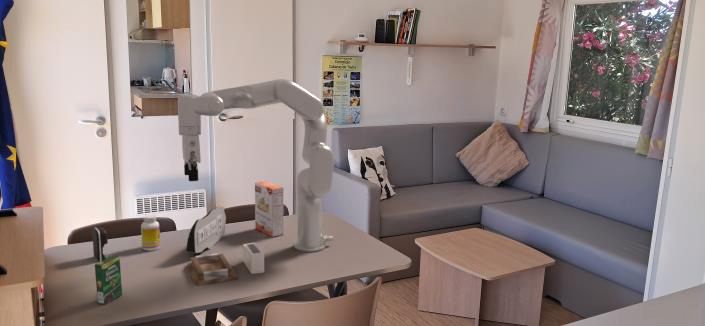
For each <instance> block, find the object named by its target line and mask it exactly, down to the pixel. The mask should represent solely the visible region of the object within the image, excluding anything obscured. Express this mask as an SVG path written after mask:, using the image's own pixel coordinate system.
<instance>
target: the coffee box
mask: <svg viewBox="0 0 705 326" xmlns="http://www.w3.org/2000/svg"><path fill="white" fill-rule="evenodd" d="M106 258H107V259H105V260H103V261H98V262H97V263H95V264H94V269H95V270H94V272H95V283H96V284H95V286H96V299H97V304H99V305H104V306H105V305H106V304H109V303H111V302H113V301H114V300H116V299H117V298H120V297H121V296H123V287H122V286H123V285H122V274H121V273H122V271H121V261H120V259H121V257H120V255H114V254H113V255H111V256H109V257H106Z"/></svg>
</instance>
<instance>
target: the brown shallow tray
mask: <svg viewBox="0 0 705 326" xmlns="http://www.w3.org/2000/svg"><path fill="white" fill-rule="evenodd" d="M186 267H187V269H188V272H189V274H190V276H191V279H192V280H193V284H194V286H199V285H207V284H213V283H219V282H220V283H221V282H227V281H234V280H238V275H237V273H236V272H235V271H234V269H233V266H231V263H229V261H228V260H227V258H226V256H225V255H224V254H223V253H207V254H200V255H195V256H192V257H190V262H188V263H187V262H186Z"/></svg>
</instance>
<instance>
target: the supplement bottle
mask: <svg viewBox="0 0 705 326" xmlns="http://www.w3.org/2000/svg"><path fill="white" fill-rule="evenodd" d="M140 232H141V235H140V236H141V249H142V250H144V251H156V250H158V249H160V248H161V235H160V233H161V231H160V223H159V222H158V221H157V215H156V214H146V215H143V222H142V223H141V225H140Z"/></svg>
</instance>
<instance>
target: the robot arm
mask: <svg viewBox="0 0 705 326" xmlns="http://www.w3.org/2000/svg"><path fill="white" fill-rule="evenodd" d="M275 104H284V105H285V106H286V107H288V108H289V109H291V110H293V111H294V112H295V113H296V115H298V116H299V117H300V118H301V119H302V120H303V123H304V137H303V146H302V150H301V151H302V152H301V156H302V160H303V161H304V163H305V164H307V165H308V166H309V167H307V168H304V169H302V170H300V171H299V172H298V174H297V176H296V191H297V192H296V193H297V240H296V241H294V242H293V248H294V249H295V250H297V251H300V252H306V253H308V252H309V253H313V252H318V251H323V250H324V249H325V248H326V242H331V241H334V237H333V235H328V234H325V235H324V234H323V233H322V232H323V230H322V229H323V228H322V227H323V198H326V196H327V195H328V194H329V193H330V191H331V188H332V182H333V176H334V168H335V156H334V152H333V150H332V148H330V147H329V146H328V145H327V135H328V133H327V132H328V124H327V123H328V122H327V118H326V116H325V113H324V112H325V107H324V104H323V101H322V100H321V99H320V98H318V97H316V96H315V95H314V94H312V93H310V92H309V91H308V90H306V89H305V88H303V87H302V86H300V85H299V84H297V83H296V82H294V81H292V80H287V79H285V78H283V79H282V78H281V79H280V78H279V79H275V80H274V79H273V80H267V81H263V82H258V83H253V84H247V85H240V86H235V87H229V88H224V89H218V90H212V91H207V92H204V93H202V94H201V95H197V94H181V95H179V96H178V97H177V118H178V119H177V120H178V124H177V125H178V135H179V136H181V141H182V142H181V143H182V145H181V147H182V158H183V160H184V165H183V168H184V176H188V181H189V182H199V168H198V164H200V163H201V162H202V161H201V145H200V143H201V142H200V135H202V120H201V119H202V117H201V116H206V117H216V116H217V117H218V116H220V115H221V114H222V113H223V112H224V110H230V109H249V110H251V109H256V108H262V107H266V106H271V105H275Z"/></svg>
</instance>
